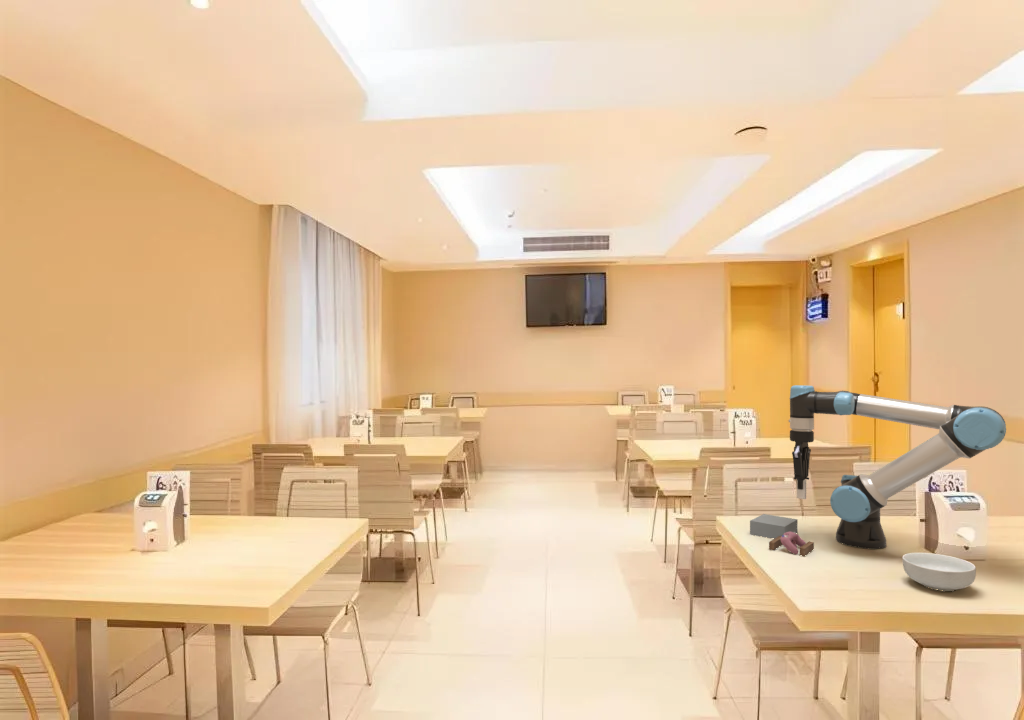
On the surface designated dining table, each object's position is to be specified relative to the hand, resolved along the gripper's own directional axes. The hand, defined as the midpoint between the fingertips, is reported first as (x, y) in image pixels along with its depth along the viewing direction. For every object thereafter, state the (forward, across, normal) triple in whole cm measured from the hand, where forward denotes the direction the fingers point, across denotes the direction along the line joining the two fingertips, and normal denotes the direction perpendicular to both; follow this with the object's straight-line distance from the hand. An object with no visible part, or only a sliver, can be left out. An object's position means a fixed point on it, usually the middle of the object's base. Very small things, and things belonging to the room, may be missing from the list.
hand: (801, 498), depth 210 cm
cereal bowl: (+15, +19, +41) cm, 48 cm away
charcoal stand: (+15, -5, -11) cm, 19 cm away
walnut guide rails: (+15, +11, 0) cm, 19 cm away
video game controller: (+16, +11, +1) cm, 19 cm away
